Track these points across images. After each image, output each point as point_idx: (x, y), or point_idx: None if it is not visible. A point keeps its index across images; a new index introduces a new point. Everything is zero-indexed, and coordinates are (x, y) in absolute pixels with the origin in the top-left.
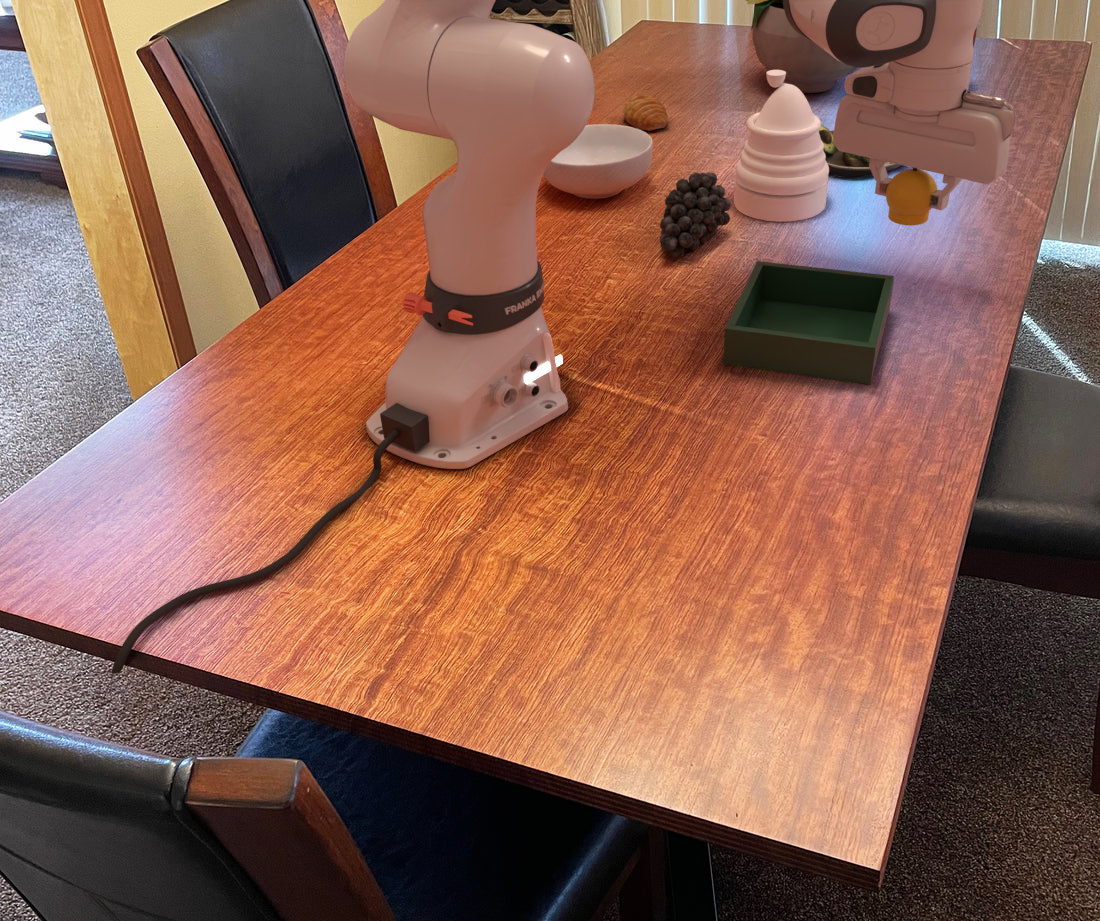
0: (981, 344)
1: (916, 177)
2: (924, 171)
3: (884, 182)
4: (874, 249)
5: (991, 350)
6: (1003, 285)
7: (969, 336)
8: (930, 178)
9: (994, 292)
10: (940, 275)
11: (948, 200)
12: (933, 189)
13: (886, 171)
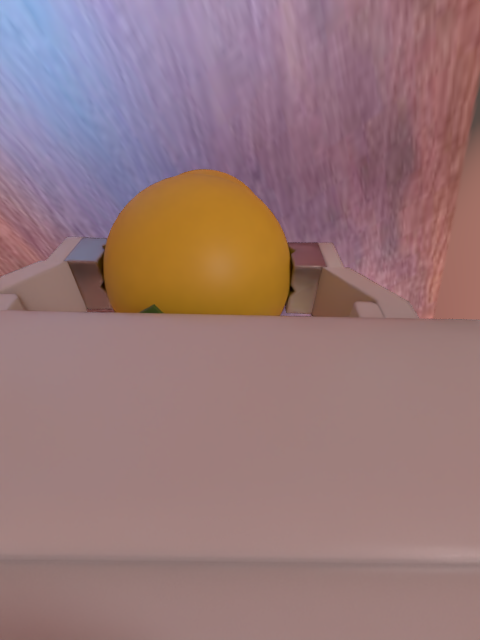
0: (407, 297)
1: None
2: (220, 302)
3: (97, 306)
4: (80, 38)
5: (421, 303)
6: (445, 50)
7: (388, 288)
8: (261, 306)
9: (423, 109)
10: (289, 95)
11: (335, 249)
12: (285, 300)
13: (43, 272)
